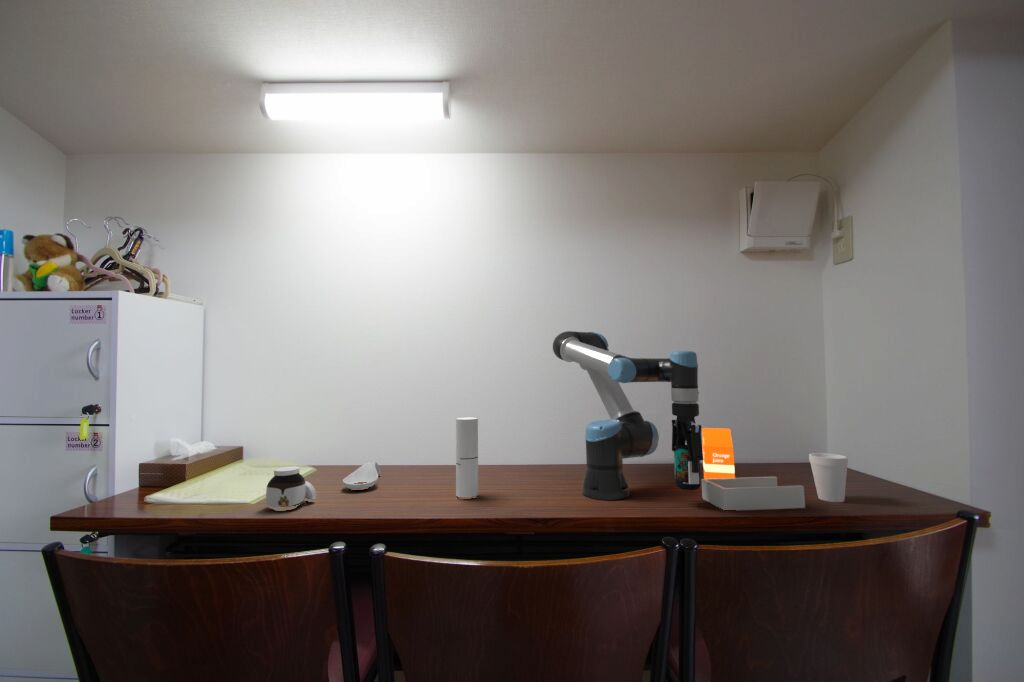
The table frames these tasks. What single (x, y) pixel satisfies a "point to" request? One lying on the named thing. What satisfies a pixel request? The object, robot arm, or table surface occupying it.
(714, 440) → the orange juice
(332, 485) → the table surface
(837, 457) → the foam cup
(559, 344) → the robot arm
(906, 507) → the table surface
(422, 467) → the table surface
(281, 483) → the spread jar
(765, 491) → the grey shallow open box
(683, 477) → the beverage can
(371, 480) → the spoon rest
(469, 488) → the cylindrical container
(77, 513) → the table surface
